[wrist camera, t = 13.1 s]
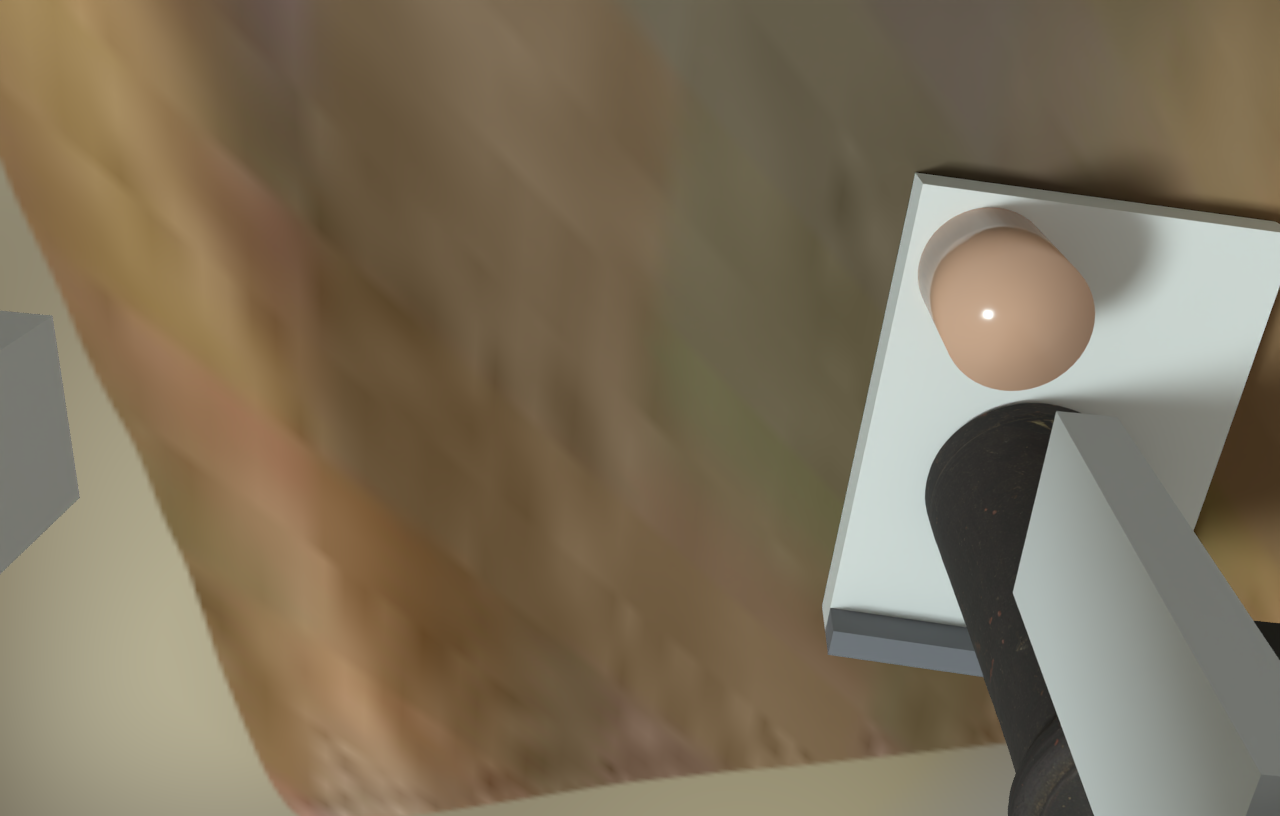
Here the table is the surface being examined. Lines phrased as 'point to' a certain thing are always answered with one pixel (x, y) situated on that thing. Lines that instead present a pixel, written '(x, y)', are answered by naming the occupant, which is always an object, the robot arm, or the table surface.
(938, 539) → the container
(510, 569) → the table surface
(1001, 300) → the peach rounded cylinder
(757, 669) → the table surface
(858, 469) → the thin white panel
